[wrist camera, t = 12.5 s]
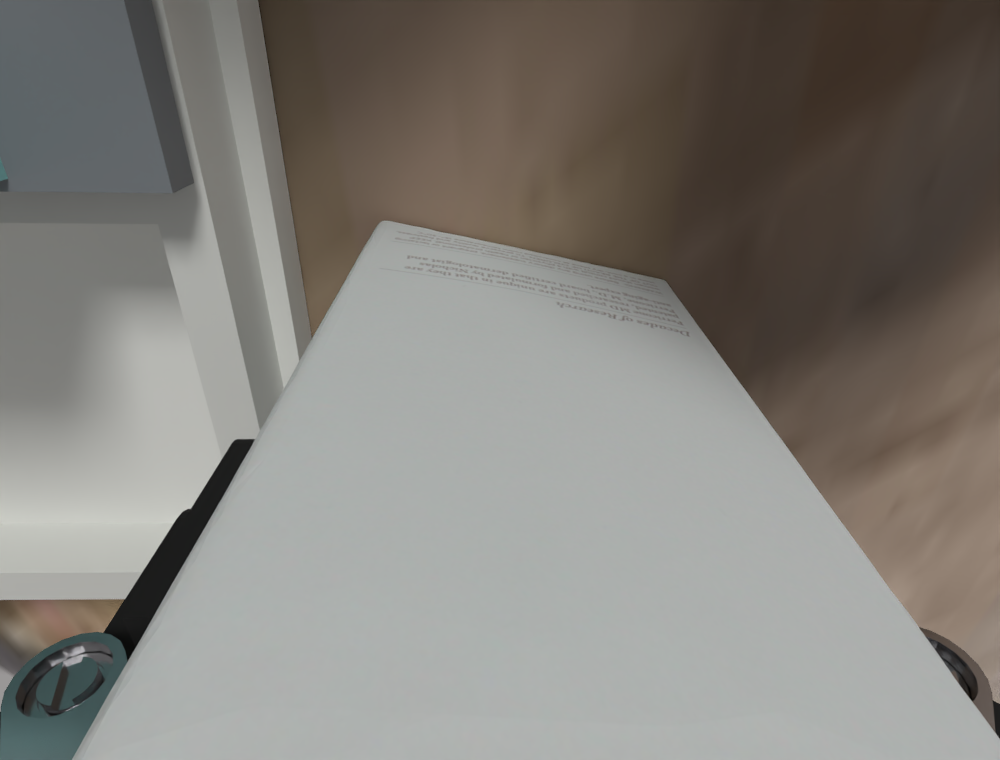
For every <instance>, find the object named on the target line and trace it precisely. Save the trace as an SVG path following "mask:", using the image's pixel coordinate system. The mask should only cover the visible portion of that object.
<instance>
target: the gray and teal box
mask: <svg viewBox="0 0 1000 760" xmlns="http://www.w3.org/2000/svg"><path fill="white" fill-rule="evenodd" d="M193 183H194V179H193V175H192V171H191V167H190V162H189V158H188V154H187V150H186V145H185V141H184V137H183V133H182V128H181V124H180V120H179V115H178V111H177V107H176V103H175V98H174V94H173V90H172V86H171V81H170V77H169V73H168V69H167V64H166V60H165V56H164V52H163V47H162V43H161V39H160V34H159V30H158V26H157V22H156V17H155V13H154V9H153V5H152V0H0V192H88V193H175V192H177V191H179V190H181V189H183V188H185V187H187V186H189V185H191V184H193Z"/></svg>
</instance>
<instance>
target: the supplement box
mask: <svg viewBox="0 0 1000 760" xmlns="http://www.w3.org/2000/svg"><path fill="white" fill-rule="evenodd" d="M72 760H1000V738H999V737H998V736H997V734H996V733H995V732H994V730H993V729H992V728H991V726H990V725H989V723H988V722H987V721H986V719H985V718H984V717H983V715H982V714H981V713H980V711H979V710H978V709H977V707H976V706H975V705H974V703H973V702H972V701H971V699H970V698H969V697H968V695H967V694H966V693H965V691H964V690H963V689H962V688H961V686H960V685H959V683H958V682H957V681H956V679H955V678H954V676H953V675H952V673H951V672H950V670H949V669H948V668H947V666H946V665H945V663H944V662H943V660H942V659H941V658H940V656H939V655H938V653H937V652H936V650H935V649H934V648H933V646H932V645H931V644H930V642H929V641H928V639H927V638H926V637H925V635H924V634H923V632H922V631H921V630H920V628H919V627H918V626H917V624H916V623H915V621H914V620H913V619H912V617H911V616H910V614H909V613H908V612H907V610H906V609H905V608H904V606H903V605H902V604H901V603H900V601H899V600H898V599H897V598H896V596H895V595H894V594H893V593H892V591H891V590H890V589H889V587H888V586H887V585H886V583H885V582H884V580H883V579H882V577H881V576H880V575H879V573H878V572H877V570H876V569H875V567H874V566H873V565H872V563H871V562H870V560H869V559H868V558H867V556H866V555H865V554H864V552H863V551H862V549H861V548H860V547H859V545H858V544H857V543H856V541H855V540H854V539H853V537H852V536H851V535H850V533H849V532H848V530H847V529H846V528H845V526H844V525H843V524H842V522H841V521H840V520H839V518H838V517H837V515H836V514H835V513H834V511H833V510H832V509H831V507H830V506H829V505H828V503H827V502H826V500H825V499H824V498H823V496H822V495H821V494H820V492H819V491H818V489H817V488H816V487H815V485H814V484H813V483H812V481H811V480H810V478H809V477H808V476H807V474H806V473H805V471H804V470H803V469H802V467H801V466H800V464H799V463H798V462H797V460H796V459H795V458H794V456H793V455H792V453H791V452H790V451H789V449H788V448H787V446H786V445H785V444H784V442H783V441H782V439H781V438H780V437H779V435H778V434H777V433H776V431H775V430H774V429H773V428H772V426H771V425H770V423H769V422H768V421H767V419H766V418H765V416H764V415H763V414H762V412H761V411H760V409H759V408H758V407H757V405H756V404H755V403H754V401H753V400H752V398H751V397H750V396H749V394H748V393H747V392H746V390H745V389H744V388H743V386H742V385H741V384H740V382H739V381H738V380H737V378H736V377H735V375H734V374H733V373H732V371H731V370H730V369H729V367H728V366H727V365H726V363H725V362H724V360H723V359H722V358H721V356H720V355H719V354H718V352H717V351H716V349H715V348H714V347H713V345H712V344H711V343H710V341H709V340H708V338H707V337H706V336H705V334H704V333H703V332H702V330H701V329H700V327H699V326H698V325H697V323H696V322H695V321H694V319H693V318H692V316H691V315H690V314H689V312H688V311H687V309H686V308H685V307H684V305H683V304H682V303H681V301H680V300H679V299H678V297H677V296H676V295H675V293H674V292H673V290H672V289H671V288H670V286H669V285H668V283H667V282H666V281H665V280H662V279H658V278H654V277H649V276H645V275H640V274H635V273H631V272H627V271H622V270H618V269H613V268H608V267H604V266H599V265H593V264H589V263H584V262H579V261H575V260H571V259H567V258H563V257H558V256H553V255H548V254H543V253H538V252H533V251H529V250H525V249H520V248H516V247H511V246H506V245H501V244H497V243H492V242H487V241H482V240H478V239H473V238H469V237H464V236H459V235H454V234H449V233H443V232H438V231H435V230H431V229H427V228H422V227H416V226H411V225H406V224H401V223H397V222H393V221H381V222H380V223H379V224H378V225H377V227H376V228H375V230H374V231H373V233H372V235H371V237H370V238H369V240H368V242H367V243H366V245H365V246H364V248H363V250H362V252H361V253H360V255H359V257H358V258H357V260H356V262H355V264H354V266H353V268H352V269H351V271H350V273H349V275H348V277H347V278H346V280H345V282H344V284H343V286H342V287H341V289H340V291H339V292H338V294H337V296H336V298H335V299H334V301H333V303H332V305H331V306H330V308H329V310H328V312H327V313H326V315H325V317H324V318H323V320H322V322H321V324H320V325H319V327H318V329H317V331H316V333H315V334H314V336H313V338H312V340H311V341H310V343H309V345H308V347H307V348H306V350H305V352H304V354H303V355H302V357H301V359H300V361H299V363H298V365H297V366H296V368H295V370H294V372H293V374H292V375H291V377H290V379H289V381H288V383H287V385H286V386H285V388H284V390H283V392H282V393H281V395H280V397H279V398H278V400H277V402H276V403H275V405H274V407H273V408H272V410H271V412H270V414H269V416H268V417H267V419H266V421H265V423H264V425H263V426H262V428H261V430H260V432H259V434H258V435H257V437H256V439H255V441H254V443H253V444H252V446H251V448H250V450H249V451H248V453H247V455H246V457H245V458H244V460H243V462H242V463H241V465H240V467H239V469H238V470H237V472H236V474H235V476H234V478H233V479H232V481H231V483H230V485H229V487H228V489H227V490H226V492H225V494H224V496H223V497H222V499H221V501H220V502H219V504H218V506H217V508H216V509H215V511H214V513H213V515H212V516H211V518H210V520H209V521H208V523H207V525H206V527H205V528H204V530H203V532H202V533H201V535H200V537H199V539H198V540H197V542H196V544H195V545H194V547H193V549H192V551H191V552H190V554H189V556H188V557H187V559H186V561H185V563H184V564H183V566H182V568H181V570H180V571H179V573H178V575H177V576H176V578H175V580H174V582H173V583H172V585H171V587H170V588H169V590H168V592H167V594H166V595H165V597H164V599H163V601H162V603H161V604H160V606H159V608H158V610H157V611H156V613H155V615H154V617H153V618H152V620H151V622H150V624H149V625H148V627H147V629H146V631H145V633H144V634H143V636H142V638H141V640H140V641H139V643H138V645H137V646H136V648H135V650H134V652H133V653H132V655H131V657H130V658H129V660H128V662H127V664H126V665H125V667H124V669H123V671H122V672H121V674H120V676H119V677H118V679H117V681H116V683H115V684H114V686H113V688H112V689H111V691H110V693H109V695H108V696H107V698H106V700H105V702H104V703H103V705H102V707H101V709H100V711H99V712H98V714H97V716H96V718H95V720H94V721H93V723H92V725H91V727H90V728H89V730H88V732H87V734H86V736H85V737H84V739H83V741H82V743H81V745H80V746H79V748H78V750H77V752H76V753H75V755H74V757H73V758H72Z"/></svg>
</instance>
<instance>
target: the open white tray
mask: <svg viewBox="0 0 1000 760" xmlns="http://www.w3.org/2000/svg"><path fill="white" fill-rule="evenodd" d="M152 5H153V9H154V13H155V17H156V22H157V26H158V30H159V34H160V39H161V43H162V47H163V52H164V56H165V60H166V64H167V69H168V73H169V77H170V81H171V86H172V90H173V94H174V98H175V103H176V107H177V111H178V115H179V120H180V124H181V128H182V133H183V137H184V141H185V145H186V150H187V154H188V158H189V162H190V167H191V171H192V175H193V179H194V183H193V184H191V185H189V186H187V187H185V188H183V189H181V190H179V191H177V192H175V193H88V192H0V600H63V599H126V597H127V595H128V594H129V592H130V591H131V589H132V588H133V586H134V584H135V583H136V581H137V580H138V578H139V577H140V575H141V574H142V572H143V570H144V569H145V567H146V566H147V564H148V563H149V561H150V560H151V558H152V556H153V555H154V553H155V552H156V550H157V549H158V547H159V546H160V544H161V542H162V541H163V539H164V538H165V536H166V535H167V533H168V532H169V530H170V528H171V527H172V525H173V524H174V522H175V521H176V519H177V518H178V516H179V515H180V514H181V513H182V512H183V511H185V510H187V509H191V508H192V506H193V505H194V503H195V501H196V500H197V498H198V497H199V495H200V493H201V492H202V490H203V489H204V487H205V485H206V484H207V482H208V481H209V479H210V477H211V476H212V474H213V473H214V471H215V469H216V468H217V466H218V465H219V463H220V461H221V460H222V458H223V457H224V455H225V453H226V452H227V450H228V449H229V447H230V445H231V444H232V443H233V441H234V440H236V439H256V437H257V435H258V434H259V432H260V430H261V428H262V426H263V425H264V423H265V421H266V419H267V417H268V416H269V414H270V412H271V410H272V408H273V407H274V405H275V403H276V402H277V400H278V398H279V397H280V395H281V393H282V392H283V390H284V388H285V386H286V385H287V383H288V381H289V379H290V377H291V375H292V374H293V372H294V370H295V368H296V366H297V365H298V363H299V361H300V359H301V357H302V355H303V354H304V352H305V350H306V348H307V347H308V345H309V343H310V341H311V340H312V336H311V330H310V323H309V317H308V311H307V305H306V298H305V292H304V286H303V280H302V273H301V267H300V261H299V254H298V248H297V242H296V236H295V229H294V223H293V217H292V210H291V204H290V198H289V192H288V185H287V179H286V173H285V166H284V160H283V154H282V148H281V141H280V135H279V129H278V122H277V116H276V110H275V104H274V97H273V91H272V85H271V78H270V72H269V66H268V60H267V53H266V47H265V41H264V34H263V28H262V22H261V16H260V9H259V3H258V0H152Z"/></svg>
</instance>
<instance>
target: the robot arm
mask: <svg viewBox="0 0 1000 760" xmlns="http://www.w3.org/2000/svg"><path fill="white" fill-rule="evenodd" d="M254 441H255V439H236V440H234V441H233V443H232V444H231V445H230V447H229V449H228V450H227V452H226V453H225V455H224V457H223V458H222V460H221V461H220V463H219V465H218V466H217V468H216V469H215V471H214V473H213V474H212V476H211V477H210V479H209V481H208V482H207V484H206V485H205V487H204V489H203V490H202V492H201V493H200V495H199V497H198V498H197V500H196V501H195V503H194V505H193V506H192V508H191V509H187V510H185V511H183V512H182V513H181V514H180V515H179V516H178V518H177V519H176V521H175V522H174V524H173V525H172V527H171V528H170V530H169V532H168V533H167V535H166V536H165V538H164V539H163V541H162V542H161V544H160V546H159V547H158V549H157V550H156V552H155V553H154V555H153V556H152V558H151V560H150V561H149V563H148V564H147V566H146V567H145V569H144V570H143V572H142V574H141V575H140V577H139V578H138V580H137V581H136V583H135V584H134V586H133V588H132V589H131V591H130V592H129V594H128V595H127V597H126V599H125V600H124V602H123V603H122V605H121V606H120V608H119V609H118V611H117V613H116V614H115V616H114V617H113V619H112V620H111V622H110V623H109V625H108V627H107V628H106V630H105V631H104V633H99V632H94V633H85V634H79V635H76V636H73V637H70V638H67V639H64V640H61V641H60V642H58V643H56V644H54V645H52V646H50V647H48V648H46V649H44V650H43V651H42V652H40V653H39V654H38V655H36V656H35V657H34V658H32V659H31V660H30V661H28V662H27V663H26V664H25V665H24V666H23V667H22V668H21V669H20V671H19V672H18V673H17V674H16V675H15V676H14V677H13V679H12V681H11V682H10V684H9V685H8V687H7V689H6V690H5V692H4V697H3V700H2V704H1V712H0V760H72V758H73V757H74V755H75V753H76V752H77V750H78V748H79V746H80V745H81V743H82V741H83V739H84V737H85V736H86V734H87V732H88V730H89V728H90V727H91V725H92V723H93V721H94V720H95V718H96V716H97V714H98V712H99V711H100V709H101V707H102V705H103V703H104V702H105V700H106V698H107V696H108V695H109V693H110V691H111V689H112V688H113V686H114V684H115V683H116V681H117V679H118V677H119V676H120V674H121V672H122V671H123V669H124V667H125V665H126V664H127V662H128V660H129V658H130V657H131V655H132V653H133V652H134V650H135V648H136V646H137V645H138V643H139V641H140V640H141V638H142V636H143V634H144V633H145V631H146V629H147V627H148V625H149V624H150V622H151V620H152V618H153V617H154V615H155V613H156V611H157V610H158V608H159V606H160V604H161V603H162V601H163V599H164V597H165V595H166V594H167V592H168V590H169V588H170V587H171V585H172V583H173V582H174V580H175V578H176V576H177V575H178V573H179V571H180V570H181V568H182V566H183V564H184V563H185V561H186V559H187V557H188V556H189V554H190V552H191V551H192V549H193V547H194V545H195V544H196V542H197V540H198V539H199V537H200V535H201V533H202V532H203V530H204V528H205V527H206V525H207V523H208V521H209V520H210V518H211V516H212V515H213V513H214V511H215V509H216V508H217V506H218V504H219V502H220V501H221V499H222V497H223V496H224V494H225V492H226V490H227V489H228V487H229V485H230V483H231V481H232V479H233V478H234V476H235V474H236V472H237V470H238V469H239V467H240V465H241V463H242V462H243V460H244V458H245V457H246V455H247V453H248V451H249V450H250V448H251V446H252V444H253V443H254ZM919 628H920V627H919ZM920 630H921V631H922V632H923V634H924V635H925V637H926V638H927V639H928V641H929V642H930V644H931V645H932V646H933V648H934V649H935V650H936V652H937V653H938V655H939V656H940V658H941V659H942V660H943V662H944V663H945V665H946V666H947V668H948V669H949V670H950V672H951V673H952V675H953V676H954V678H955V679H956V681H957V682H958V683H959V685H960V686H961V688H962V689H963V690H964V691H965V693H966V694H967V695H968V697H969V698H970V699H971V701H972V702H973V703H974V705H975V706H976V707H977V709H978V710H979V711H980V713H981V714H982V715H983V717H984V718H985V719H986V721H987V722H988V723H989V725H990V726H991V728H992V729H993V730H994V732H995V733H996V734H997V736H998V737H999V738H1000V704H998V703H997V702H995V701H993V698H992V692H991V688H990V685H989V682H988V679H987V677H986V676H985V674H984V673H983V671H982V670H981V668H980V667H979V665H978V664H977V663H976V662H975V661H974V660H973V659H972V658H971V657H970V656H969V655H968V654H967V653H966V652H965V651H964V650H962V649H961V648H959V647H958V646H957V645H955V644H954V643H952V642H951V641H950V640H948V639H946V638H944V637H942V636H940V635H938V634H936V633H934V632H932V631H930V630H927V629H924V628H920Z"/></svg>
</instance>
